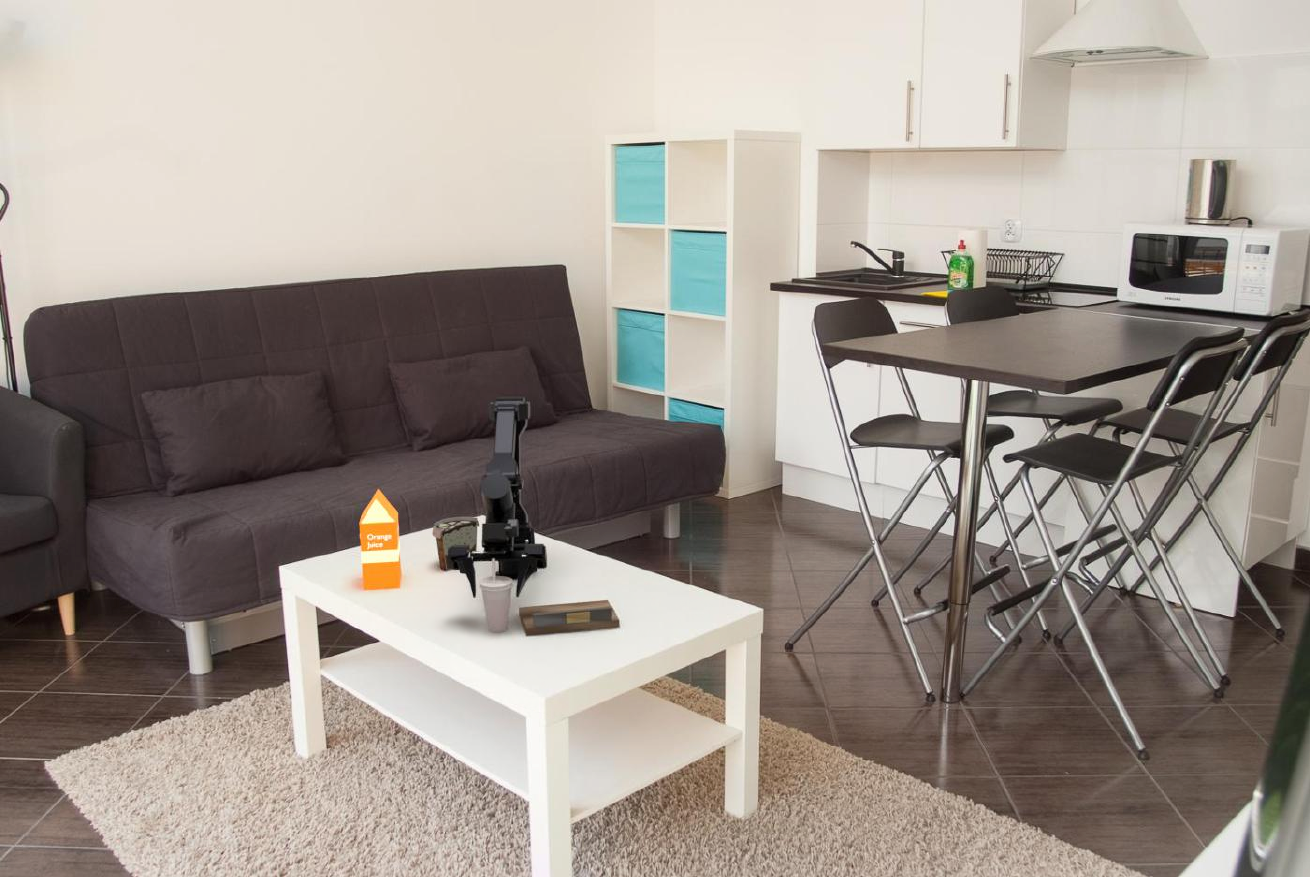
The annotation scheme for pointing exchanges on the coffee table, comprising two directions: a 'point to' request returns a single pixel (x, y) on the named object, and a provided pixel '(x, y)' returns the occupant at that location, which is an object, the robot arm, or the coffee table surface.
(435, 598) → the coffee table surface
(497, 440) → the robot arm
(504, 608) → the smoothie
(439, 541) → the brown cake slice
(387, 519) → the orange juice
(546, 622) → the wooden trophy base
